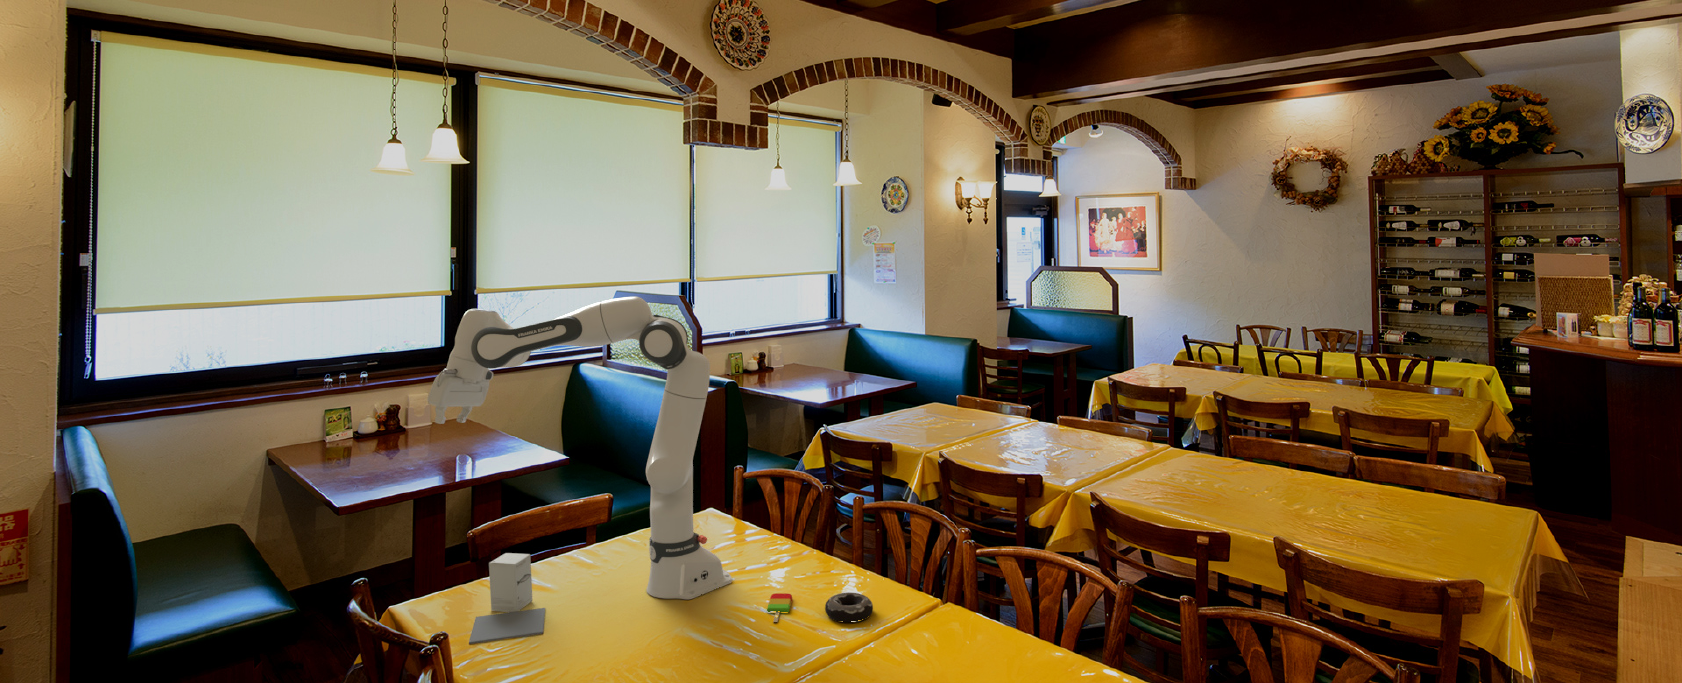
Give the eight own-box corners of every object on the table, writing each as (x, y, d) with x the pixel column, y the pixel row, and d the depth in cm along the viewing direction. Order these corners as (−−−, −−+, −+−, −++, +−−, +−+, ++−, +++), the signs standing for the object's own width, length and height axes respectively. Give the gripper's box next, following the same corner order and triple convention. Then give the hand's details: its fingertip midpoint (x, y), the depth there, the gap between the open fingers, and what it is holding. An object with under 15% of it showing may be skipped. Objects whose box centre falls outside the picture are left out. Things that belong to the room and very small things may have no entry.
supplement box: (517, 613, 205) (514, 564, 204) (490, 611, 206) (487, 562, 205) (533, 601, 212) (531, 553, 211) (507, 599, 213) (505, 551, 212)
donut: (864, 602, 209) (864, 587, 209) (879, 622, 198) (879, 606, 197) (819, 608, 206) (819, 593, 205) (832, 628, 195) (832, 612, 194)
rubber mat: (475, 618, 202) (475, 616, 202) (545, 609, 207) (545, 607, 207) (468, 644, 189) (468, 641, 189) (543, 633, 194) (543, 631, 194)
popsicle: (792, 599, 212) (792, 592, 212) (786, 626, 197) (786, 618, 197) (771, 599, 212) (771, 592, 212) (763, 625, 198) (763, 618, 197)
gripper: (453, 371, 199) (437, 427, 198) (497, 374, 219) (482, 424, 218) (429, 365, 199) (413, 420, 199) (475, 368, 220) (461, 418, 219)
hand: (450, 422), depth 209 cm, fingers open, 8 cm apart
